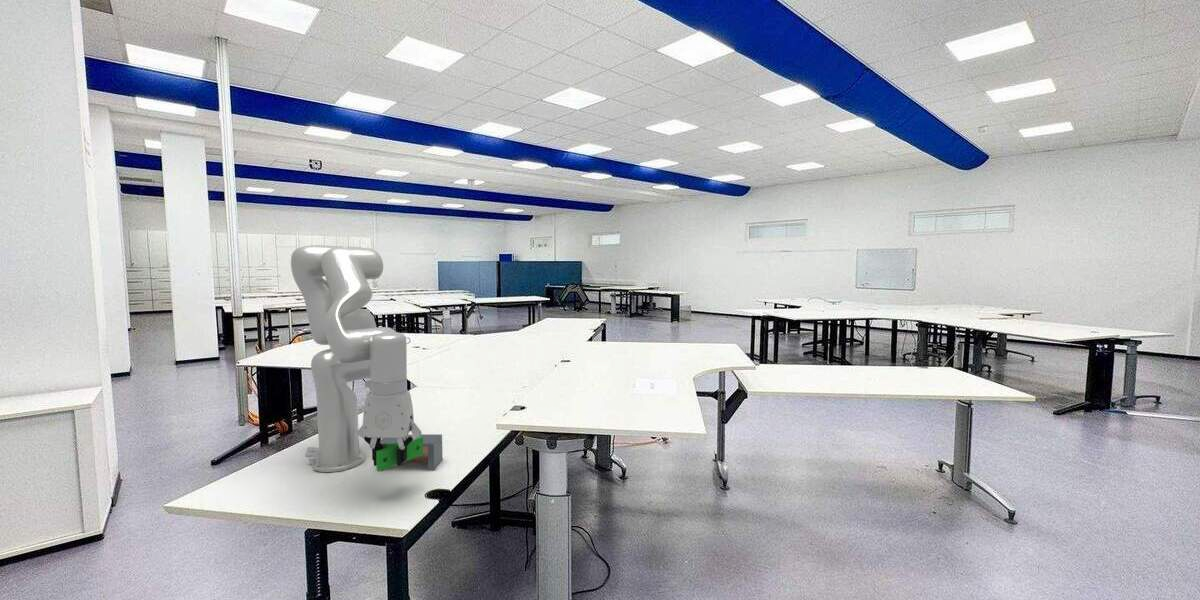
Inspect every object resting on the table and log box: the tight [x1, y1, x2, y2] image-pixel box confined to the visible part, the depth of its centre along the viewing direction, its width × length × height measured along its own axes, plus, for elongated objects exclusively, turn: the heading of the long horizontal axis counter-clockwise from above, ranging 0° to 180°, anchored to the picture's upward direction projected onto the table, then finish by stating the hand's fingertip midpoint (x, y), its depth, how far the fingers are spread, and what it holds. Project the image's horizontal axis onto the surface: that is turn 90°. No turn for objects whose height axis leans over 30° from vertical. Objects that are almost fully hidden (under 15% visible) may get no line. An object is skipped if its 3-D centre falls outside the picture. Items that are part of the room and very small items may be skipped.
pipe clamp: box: [376, 436, 423, 472], centre depth 109 cm, size 11×4×5 cm, turn 145°
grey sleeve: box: [380, 433, 444, 472], centre depth 124 cm, size 15×7×7 cm, turn 91°
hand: (389, 462), depth 107 cm, fingers closed on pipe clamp, 4 cm apart
